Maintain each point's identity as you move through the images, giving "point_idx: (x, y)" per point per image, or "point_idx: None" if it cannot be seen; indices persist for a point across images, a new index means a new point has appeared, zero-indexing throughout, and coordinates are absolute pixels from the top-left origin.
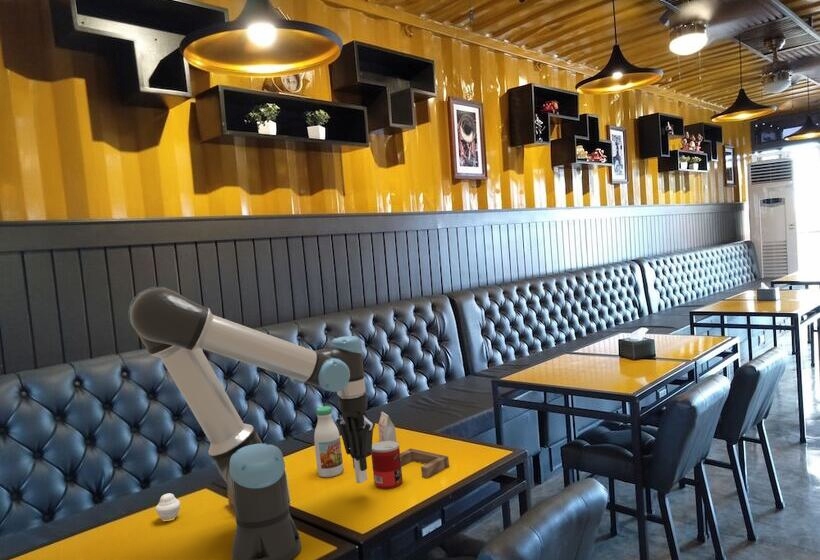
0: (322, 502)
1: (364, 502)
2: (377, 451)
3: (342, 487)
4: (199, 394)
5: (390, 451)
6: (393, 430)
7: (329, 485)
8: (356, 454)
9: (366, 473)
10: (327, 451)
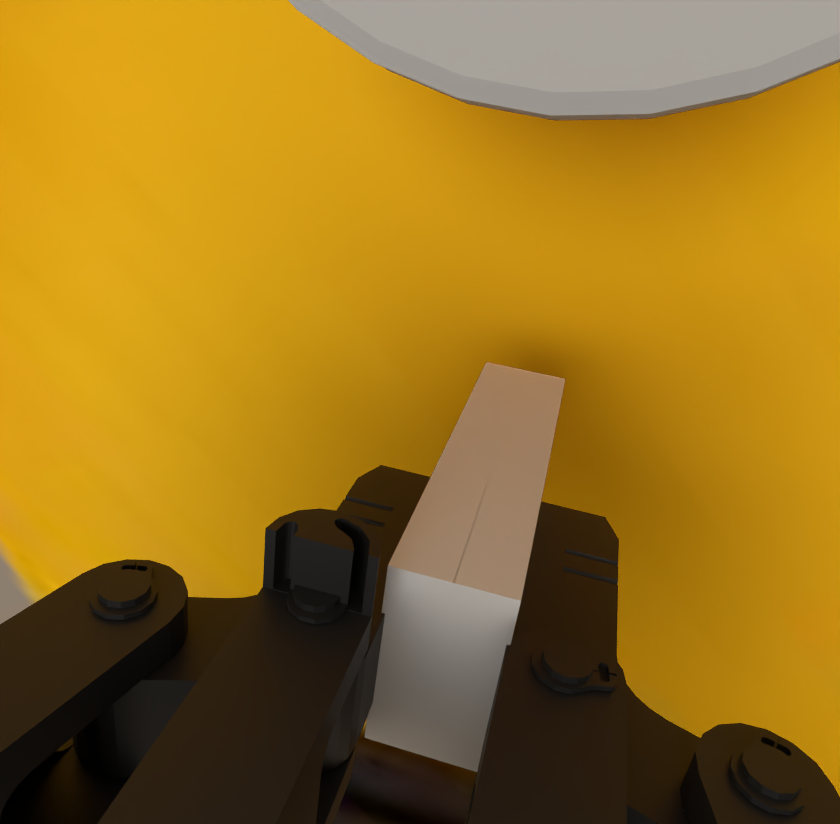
0: (243, 549)
1: (625, 462)
2: (632, 117)
3: (159, 227)
4: None
5: None
6: None
7: (10, 232)
8: (354, 721)
9: (555, 419)
10: None
